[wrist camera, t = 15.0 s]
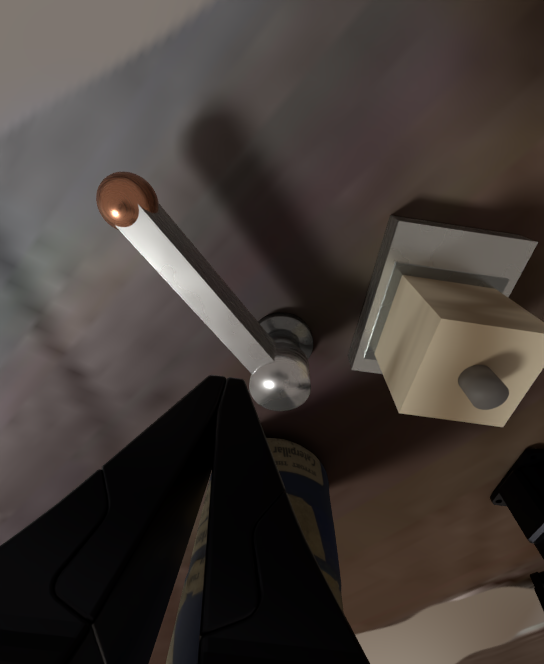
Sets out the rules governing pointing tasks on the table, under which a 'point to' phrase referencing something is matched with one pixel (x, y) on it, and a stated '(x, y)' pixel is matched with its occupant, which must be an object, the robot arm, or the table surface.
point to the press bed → (433, 270)
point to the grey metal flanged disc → (289, 330)
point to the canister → (316, 523)
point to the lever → (204, 291)
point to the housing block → (458, 351)
